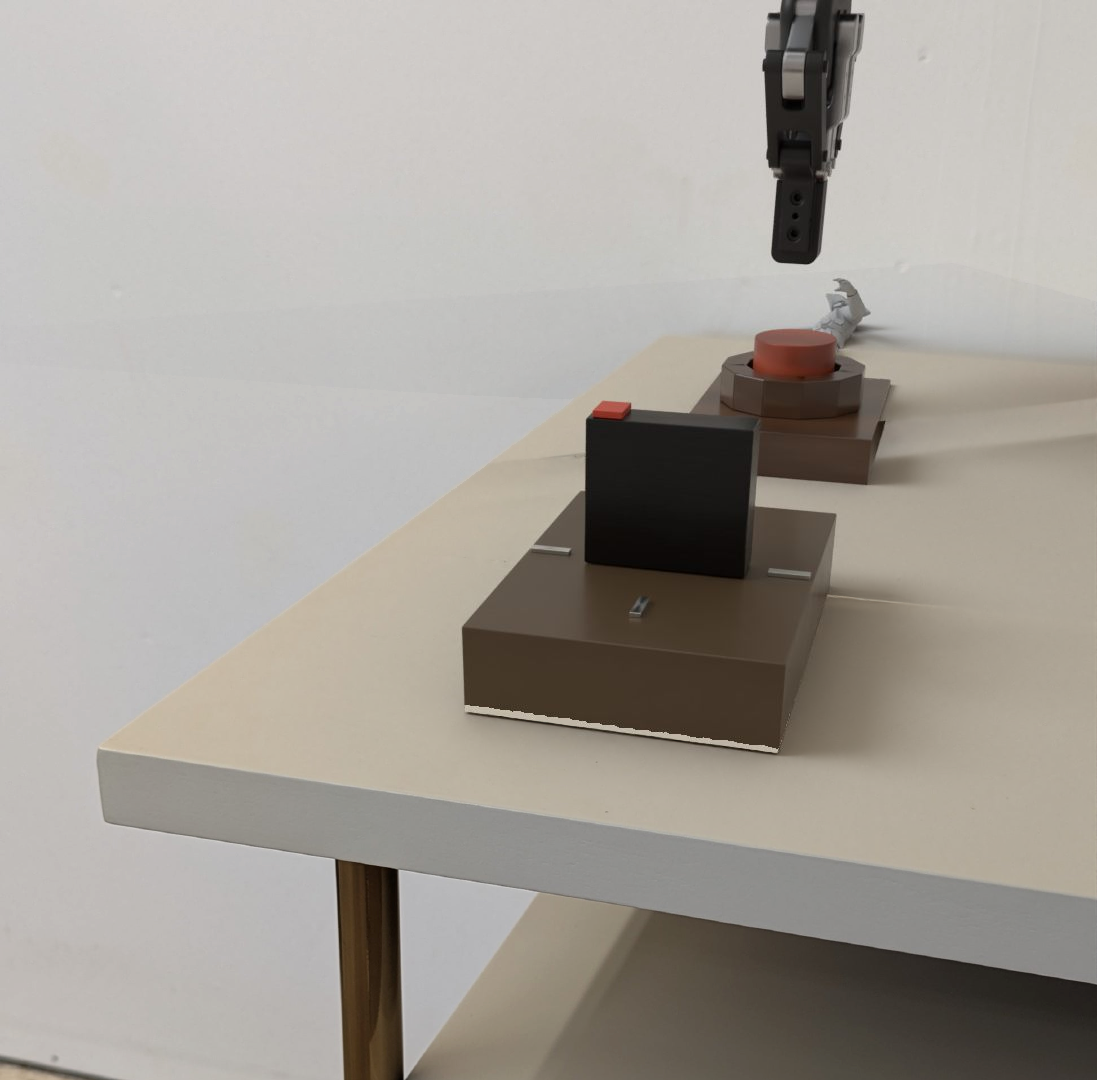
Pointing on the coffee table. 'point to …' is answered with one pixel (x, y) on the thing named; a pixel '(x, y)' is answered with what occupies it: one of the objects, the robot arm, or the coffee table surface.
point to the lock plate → (654, 634)
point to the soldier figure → (842, 313)
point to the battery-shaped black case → (670, 490)
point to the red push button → (794, 352)
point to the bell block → (805, 418)
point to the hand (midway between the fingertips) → (795, 261)
